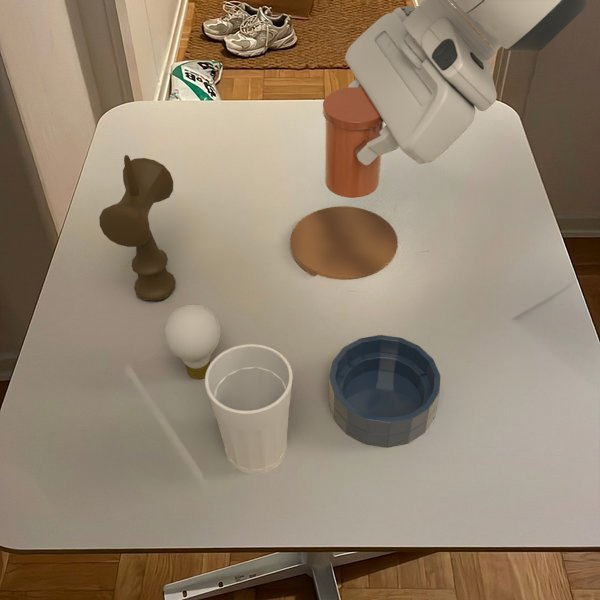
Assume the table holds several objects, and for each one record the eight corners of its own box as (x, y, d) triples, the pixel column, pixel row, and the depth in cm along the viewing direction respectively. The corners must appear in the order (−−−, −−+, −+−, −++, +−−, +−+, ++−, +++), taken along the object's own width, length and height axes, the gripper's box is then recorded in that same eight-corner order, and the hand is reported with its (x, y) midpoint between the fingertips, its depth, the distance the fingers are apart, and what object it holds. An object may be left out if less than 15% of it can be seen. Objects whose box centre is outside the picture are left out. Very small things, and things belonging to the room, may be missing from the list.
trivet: (353, 199, 104) (354, 193, 103) (419, 254, 96) (419, 248, 95) (270, 237, 99) (270, 231, 98) (331, 298, 90) (332, 292, 90)
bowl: (389, 349, 85) (392, 320, 81) (456, 415, 78) (463, 387, 75) (309, 394, 80) (309, 365, 77) (373, 468, 74) (376, 441, 70)
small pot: (357, 156, 88) (361, 80, 80) (394, 185, 84) (401, 107, 76) (310, 177, 85) (310, 100, 78) (346, 207, 81) (349, 129, 74)
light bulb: (235, 363, 84) (228, 302, 76) (209, 402, 80) (199, 342, 73) (190, 347, 85) (179, 286, 78) (163, 384, 82) (148, 324, 74)
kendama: (189, 265, 95) (166, 132, 81) (167, 319, 88) (139, 185, 74) (144, 260, 96) (114, 127, 81) (120, 314, 89) (82, 180, 75)
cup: (202, 446, 76) (187, 373, 67) (263, 404, 80) (256, 330, 71) (249, 499, 72) (239, 429, 63) (311, 453, 75) (310, 380, 67)
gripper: (390, -19, 80) (303, 76, 85) (467, 73, 66) (359, 180, 71) (424, 15, 84) (339, 105, 89) (504, 109, 70) (398, 208, 75)
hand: (348, 139), depth 80 cm, fingers closed on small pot, 6 cm apart
